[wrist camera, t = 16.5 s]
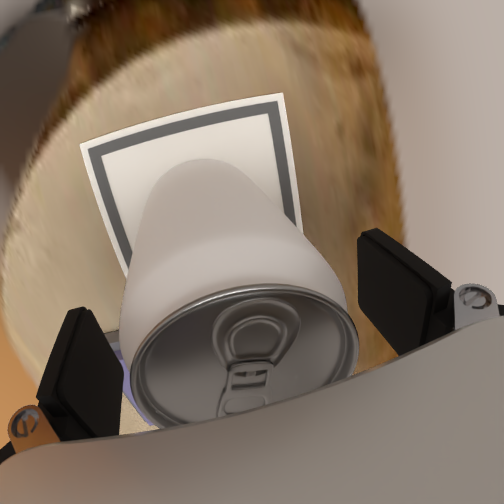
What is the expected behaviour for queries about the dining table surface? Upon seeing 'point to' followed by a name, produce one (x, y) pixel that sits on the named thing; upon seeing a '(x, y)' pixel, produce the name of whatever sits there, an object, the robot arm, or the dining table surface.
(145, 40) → the dining table surface
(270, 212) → the can
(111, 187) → the marked card
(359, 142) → the dining table surface
